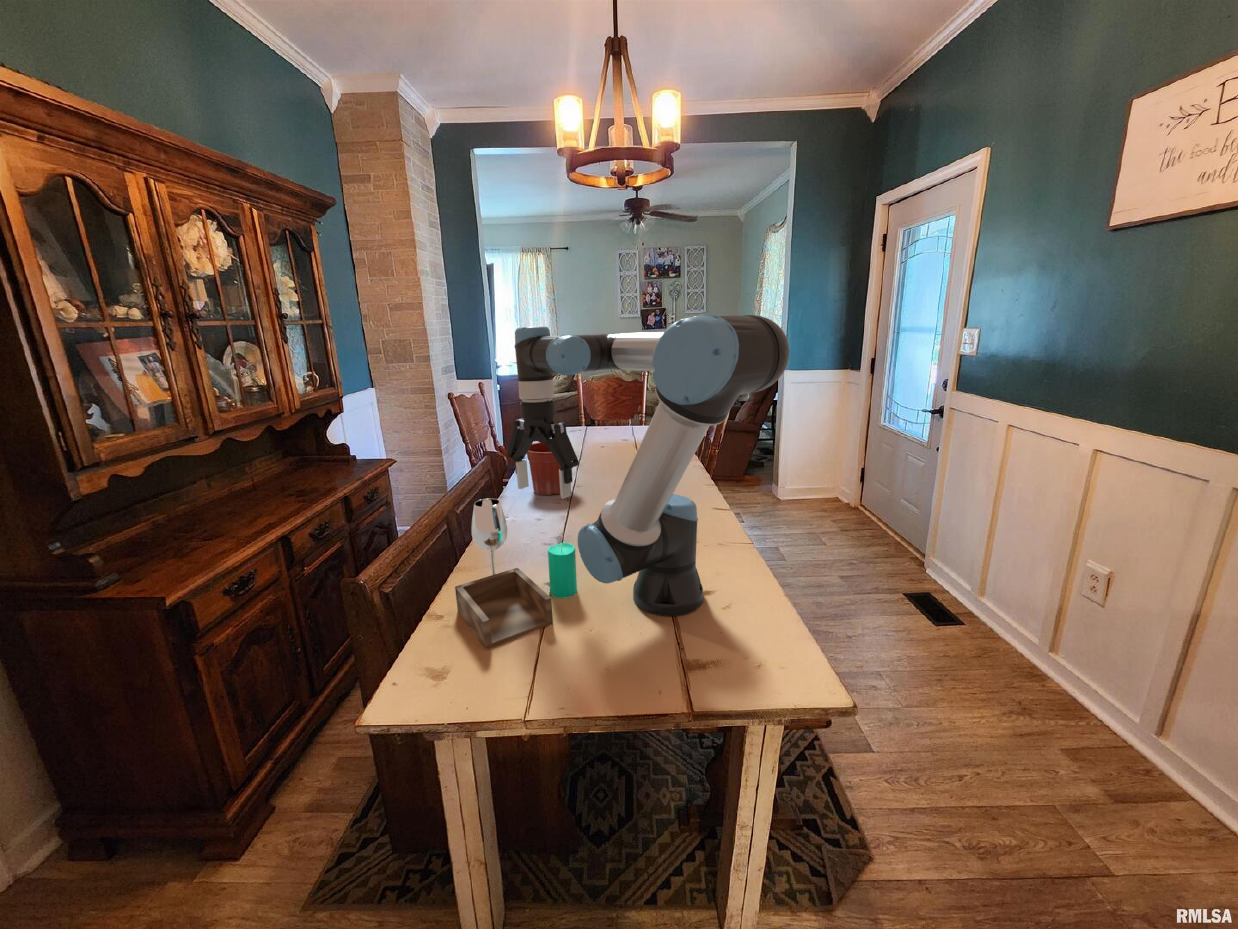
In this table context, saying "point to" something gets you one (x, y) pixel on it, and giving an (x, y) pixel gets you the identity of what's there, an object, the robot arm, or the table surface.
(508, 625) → the tray
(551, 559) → the candle
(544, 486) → the flower pot
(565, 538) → the table surface
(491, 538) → the wineglass
